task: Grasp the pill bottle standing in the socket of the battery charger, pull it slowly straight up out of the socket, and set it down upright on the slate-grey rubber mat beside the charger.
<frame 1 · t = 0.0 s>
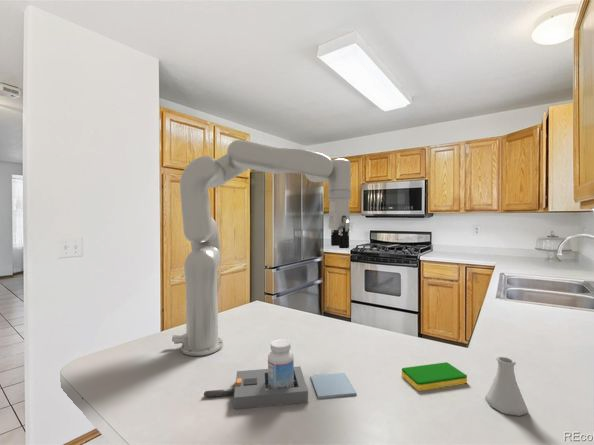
hand: (339, 246, 99), 31 cm above the countertop, tool pointing down, fingers open, 9 cm apart
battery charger: (270, 391, 68), on the countertop
dish sponge: (433, 381, 73), on the countertop
flask: (505, 406, 63), on the countertop
pill bottle: (280, 391, 69), resting in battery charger
slate mat: (332, 385, 71), on the countertop
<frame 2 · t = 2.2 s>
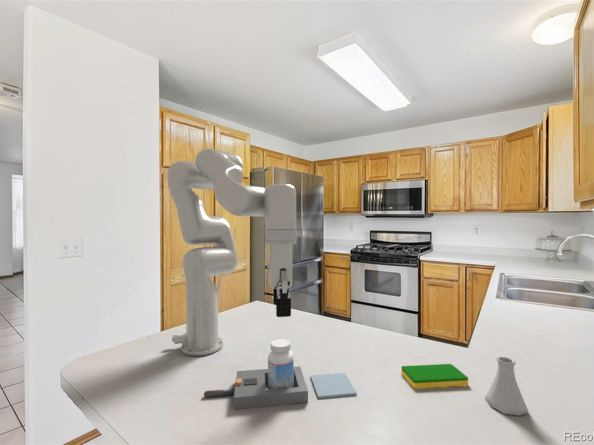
hand: (281, 309, 68), 19 cm above the countertop, tool pointing down, fingers open, 9 cm apart
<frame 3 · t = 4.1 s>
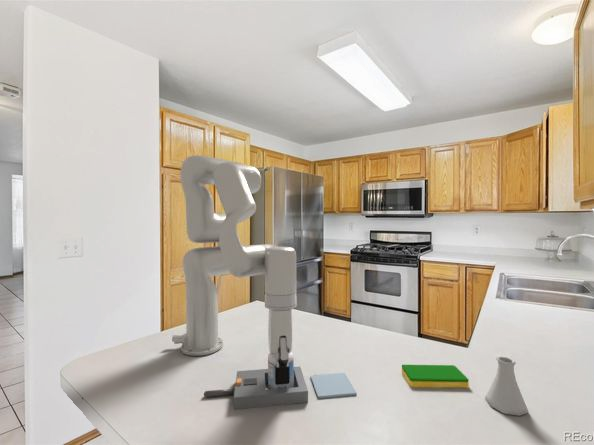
hand: (280, 374, 69), 4 cm above the countertop, tool pointing down, fingers closed on pill bottle, 6 cm apart
pill bottle: (280, 391, 69), resting in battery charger, touching gripper
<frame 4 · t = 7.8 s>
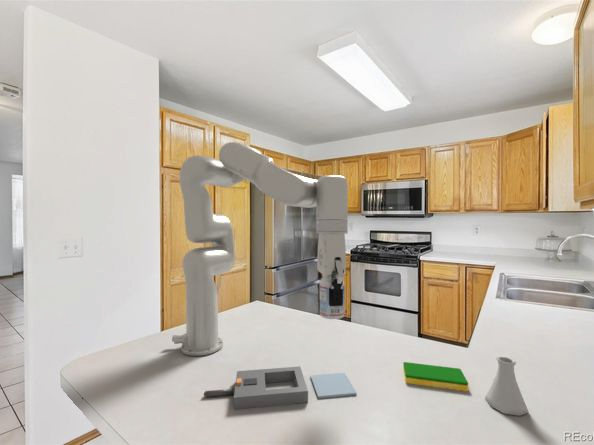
hand: (331, 300, 70), 21 cm above the countertop, tool pointing down, fingers closed on pill bottle, 6 cm apart
pill bottle: (332, 316, 70), point 17 cm above the countertop, touching gripper
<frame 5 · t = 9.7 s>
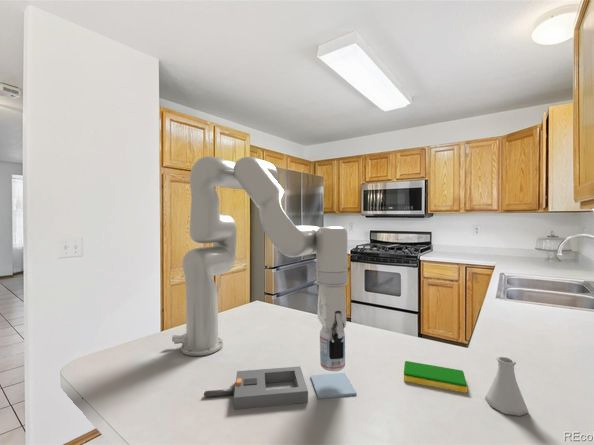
hand: (332, 351, 70), 8 cm above the countertop, tool pointing down, fingers closed on pill bottle, 6 cm apart
pill bottle: (332, 366, 70), point 5 cm above the countertop, touching gripper
when the fingers open (5 cm above the countertop, at t = 11.4 s): pill bottle stays where it is, resting on slate mat.
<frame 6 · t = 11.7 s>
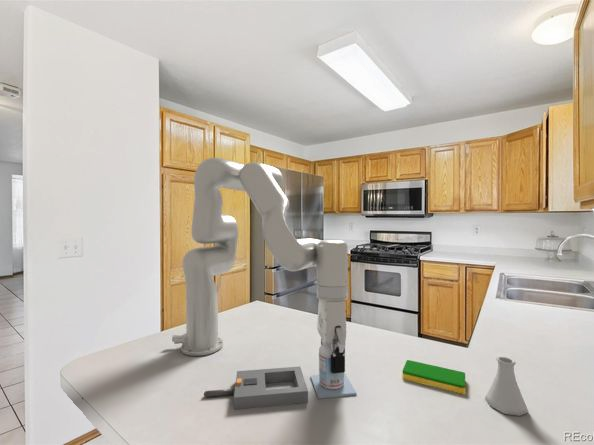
hand: (332, 362, 70), 6 cm above the countertop, tool pointing down, fingers open, 9 cm apart
pill bottle: (331, 384, 71), resting on slate mat
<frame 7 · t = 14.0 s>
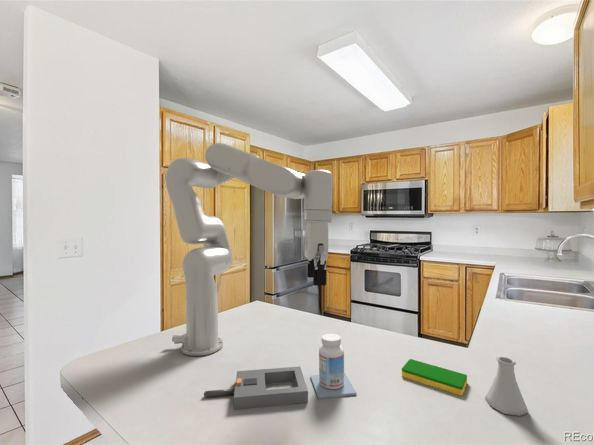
hand: (316, 280, 78), 24 cm above the countertop, tool pointing down, fingers open, 9 cm apart
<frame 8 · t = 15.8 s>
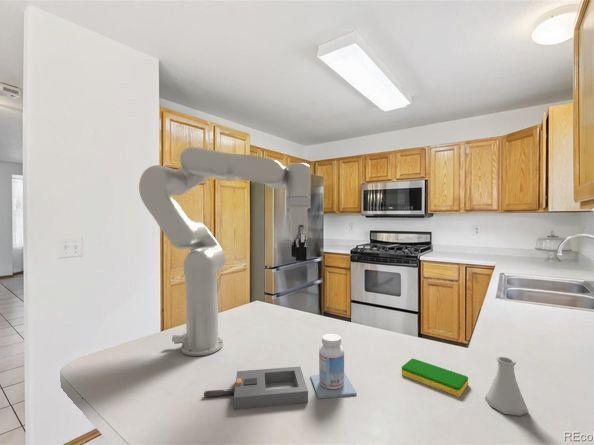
hand: (298, 258, 90), 28 cm above the countertop, tool pointing down, fingers open, 9 cm apart
at the end: pill bottle 0.1 cm off-centre on the slate mat, point 0.3 cm above the slate mat's base; pill bottle tilted 0°; the gripper is holding nothing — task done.
